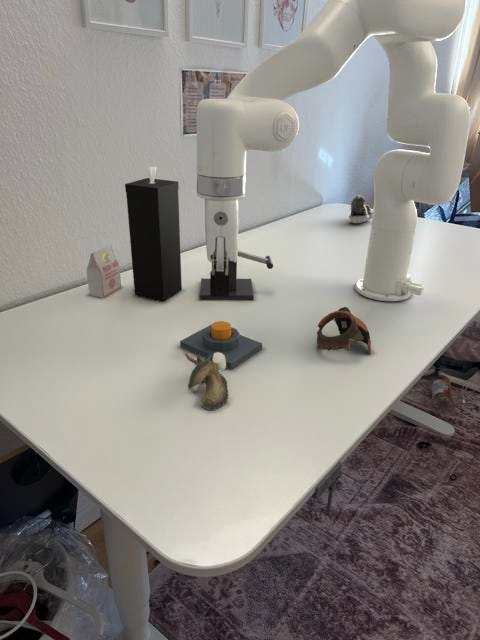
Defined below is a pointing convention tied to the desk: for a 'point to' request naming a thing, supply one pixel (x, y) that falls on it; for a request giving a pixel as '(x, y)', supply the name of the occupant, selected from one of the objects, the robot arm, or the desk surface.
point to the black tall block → (154, 236)
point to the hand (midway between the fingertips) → (219, 294)
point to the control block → (222, 346)
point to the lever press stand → (237, 287)
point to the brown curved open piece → (343, 331)
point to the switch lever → (257, 259)
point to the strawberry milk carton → (103, 273)
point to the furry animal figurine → (210, 380)
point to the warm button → (221, 330)
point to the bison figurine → (360, 210)
